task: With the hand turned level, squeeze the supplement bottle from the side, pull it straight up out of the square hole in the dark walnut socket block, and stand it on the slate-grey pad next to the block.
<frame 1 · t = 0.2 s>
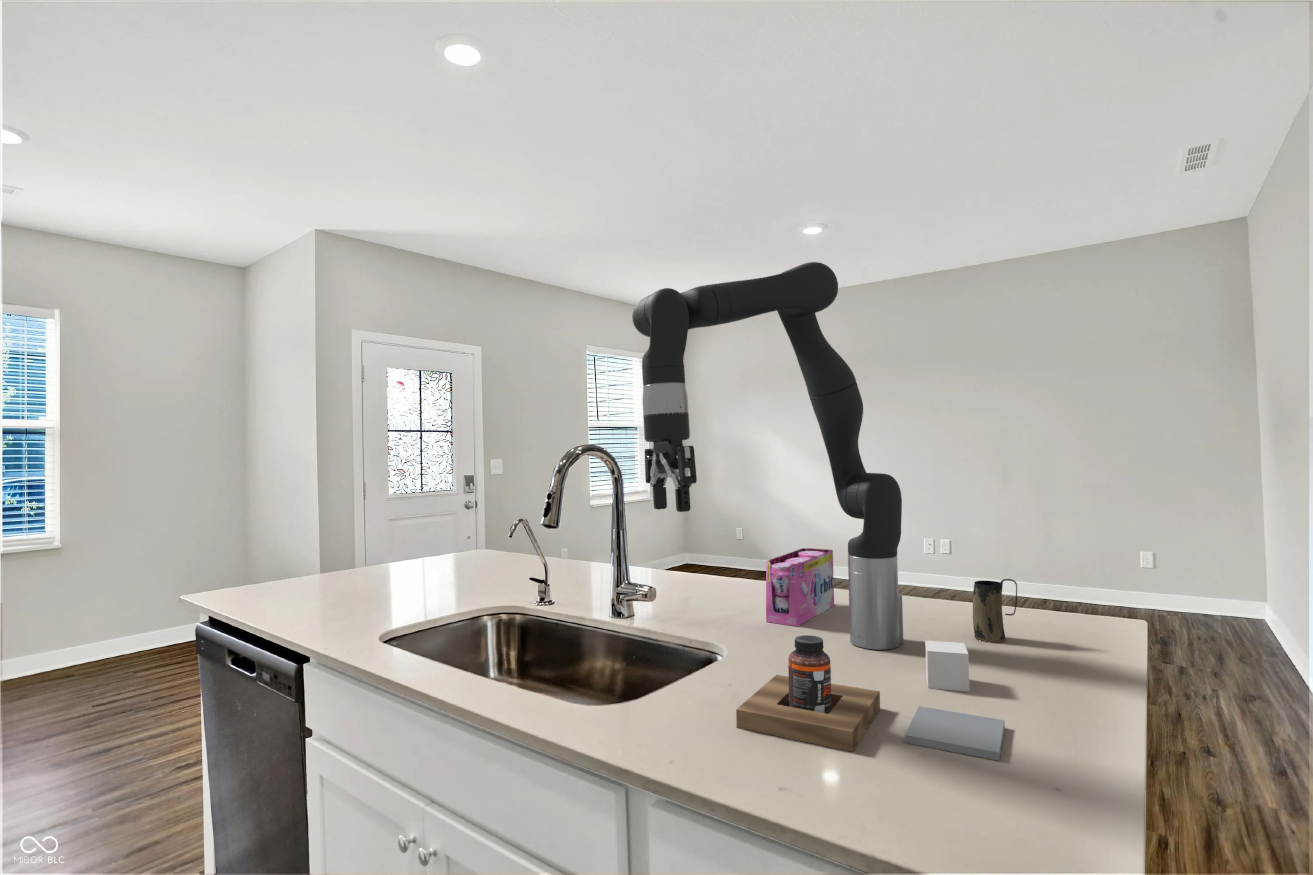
hand: (671, 510, 111), 29 cm above the worktop, tool pointing down, fingers open, 8 cm apart
gum box: (801, 614, 156), on the worktop
white cube: (947, 685, 109), on the worktop
supplement bottle: (810, 718, 97), resting in socket block
socket block: (810, 717, 97), on the worktop
mug: (995, 640, 132), on the worktop
slate pad: (955, 734, 90), on the worktop
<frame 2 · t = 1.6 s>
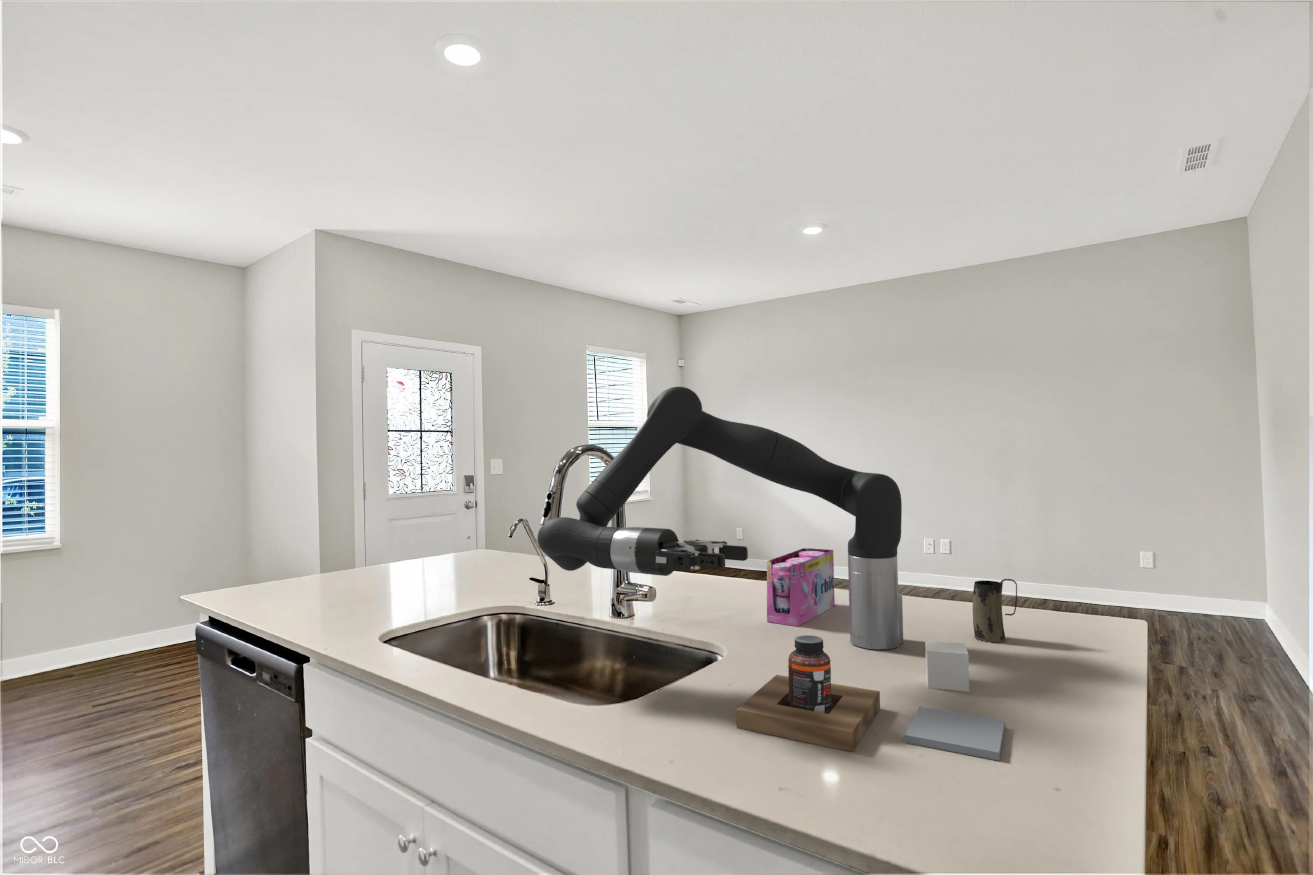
hand: (736, 557, 102), 22 cm above the worktop, tool horizontal, fingers open, 8 cm apart
nothing on the worktop moved.
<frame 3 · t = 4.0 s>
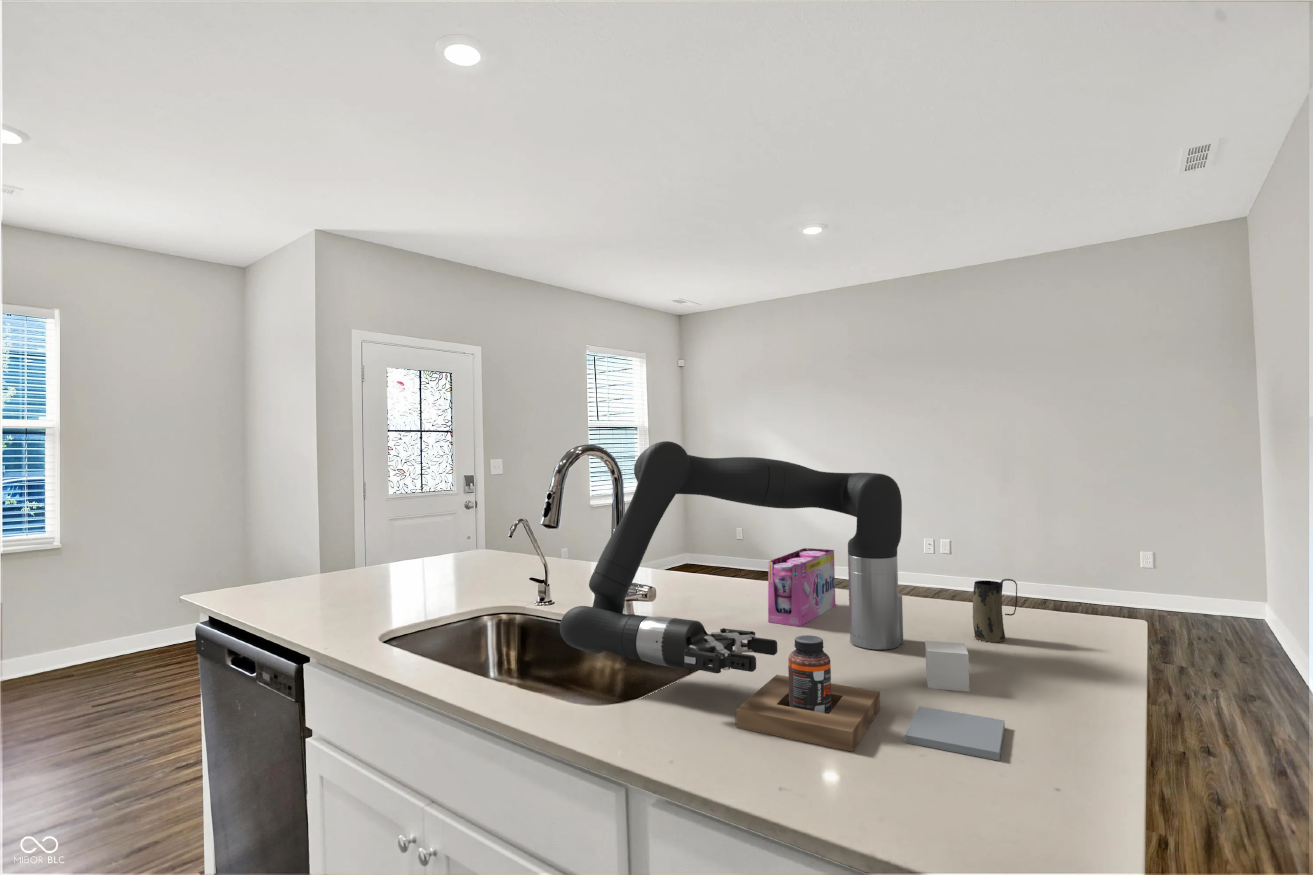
hand: (766, 655, 100), 8 cm above the worktop, tool horizontal, fingers open, 8 cm apart
nothing on the worktop moved.
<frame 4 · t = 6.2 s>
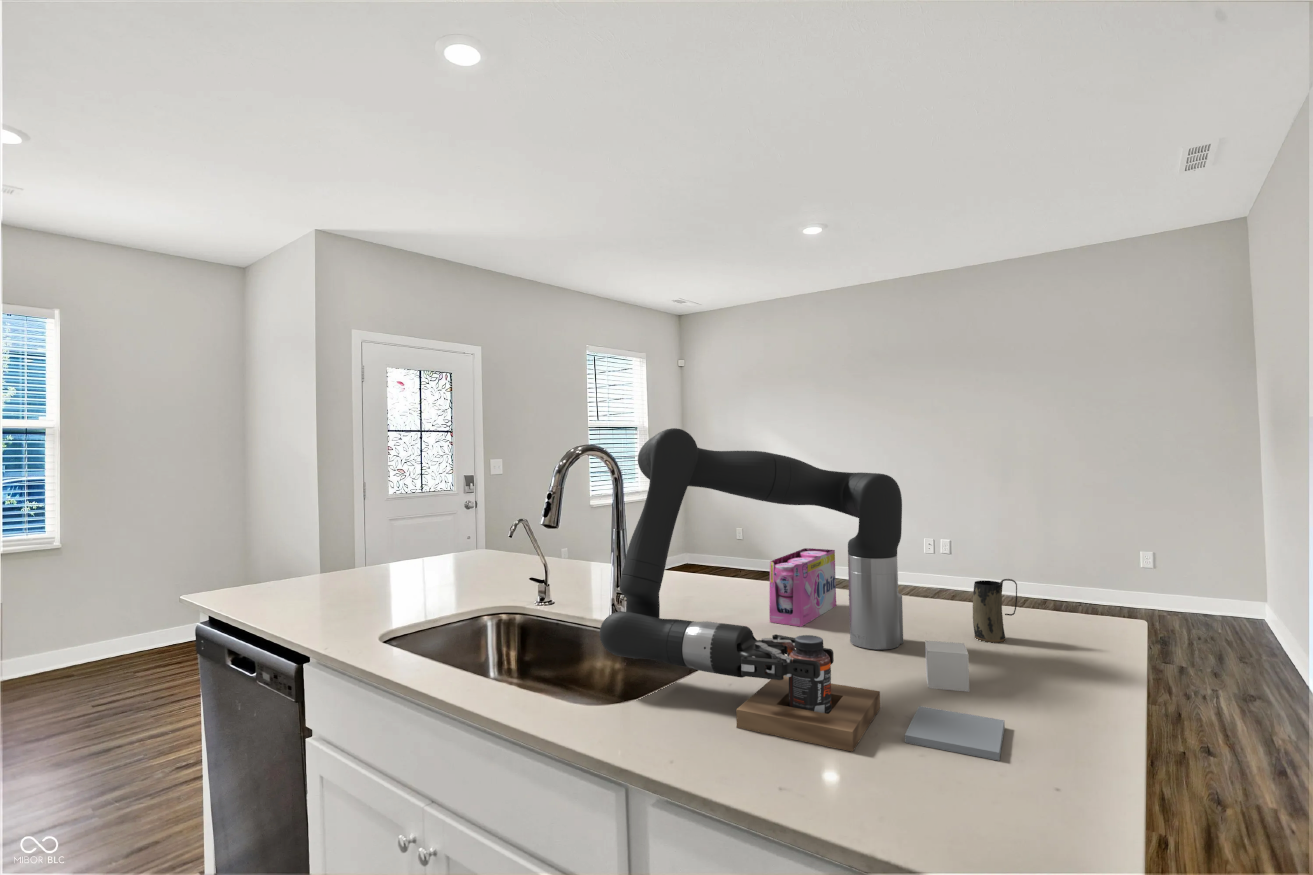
hand: (825, 663, 96), 8 cm above the worktop, tool horizontal, fingers closed on supplement bottle, 6 cm apart
supplement bottle: (810, 718, 97), resting in socket block, touching gripper
everything else where it was.
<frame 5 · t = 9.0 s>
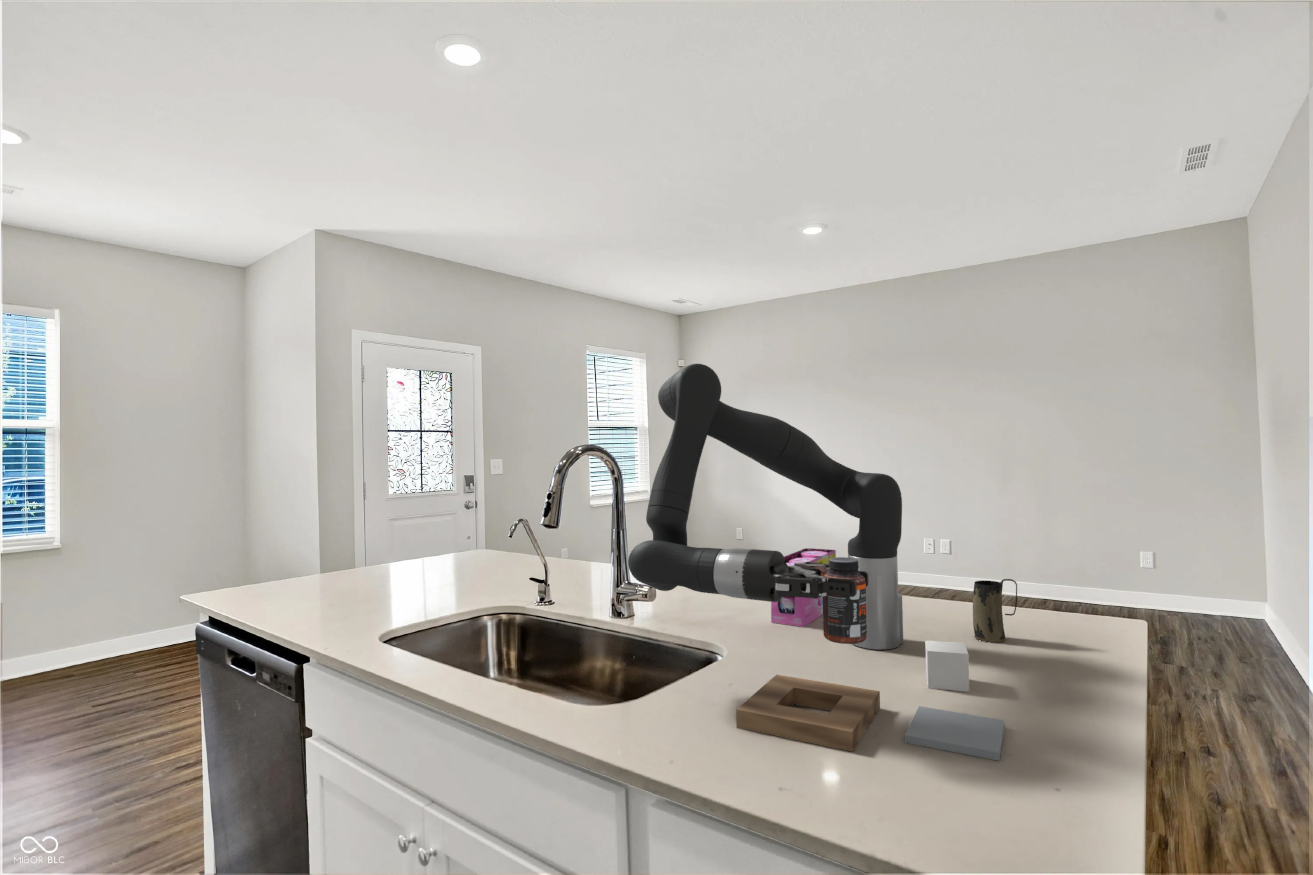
hand: (861, 583, 94), 20 cm above the worktop, tool horizontal, fingers closed on supplement bottle, 6 cm apart
supplement bottle: (845, 640, 95), point 11 cm above the worktop, touching gripper
everything else where it was.
when the fingers open (10 cm above the worktop, at t = 12.2 s): supplement bottle drops 1 cm, resting on slate pad.
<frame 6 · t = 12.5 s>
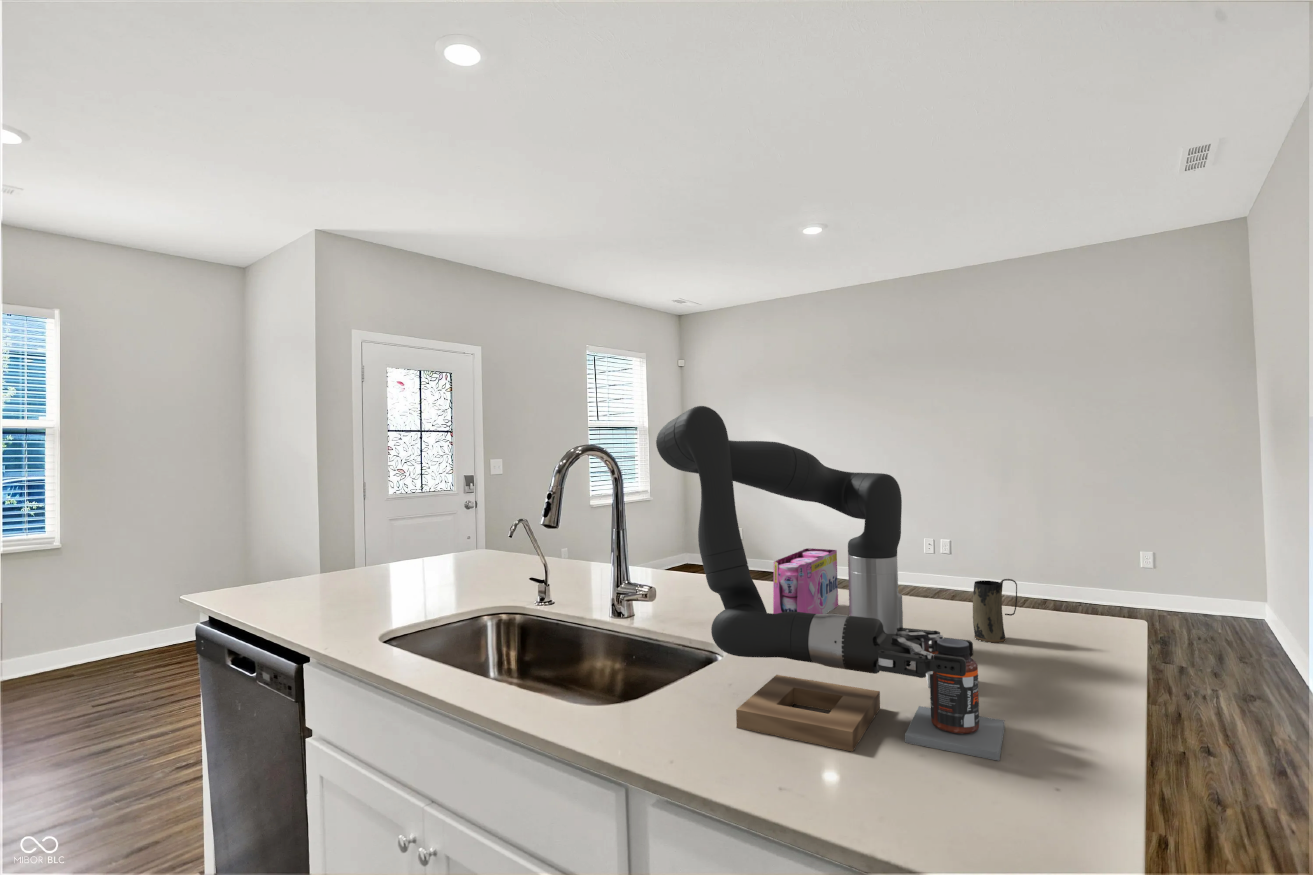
hand: (969, 657, 89), 10 cm above the worktop, tool horizontal, fingers open, 8 cm apart
supplement bottle: (955, 728, 90), point 1 cm above the worktop, touching slate pad
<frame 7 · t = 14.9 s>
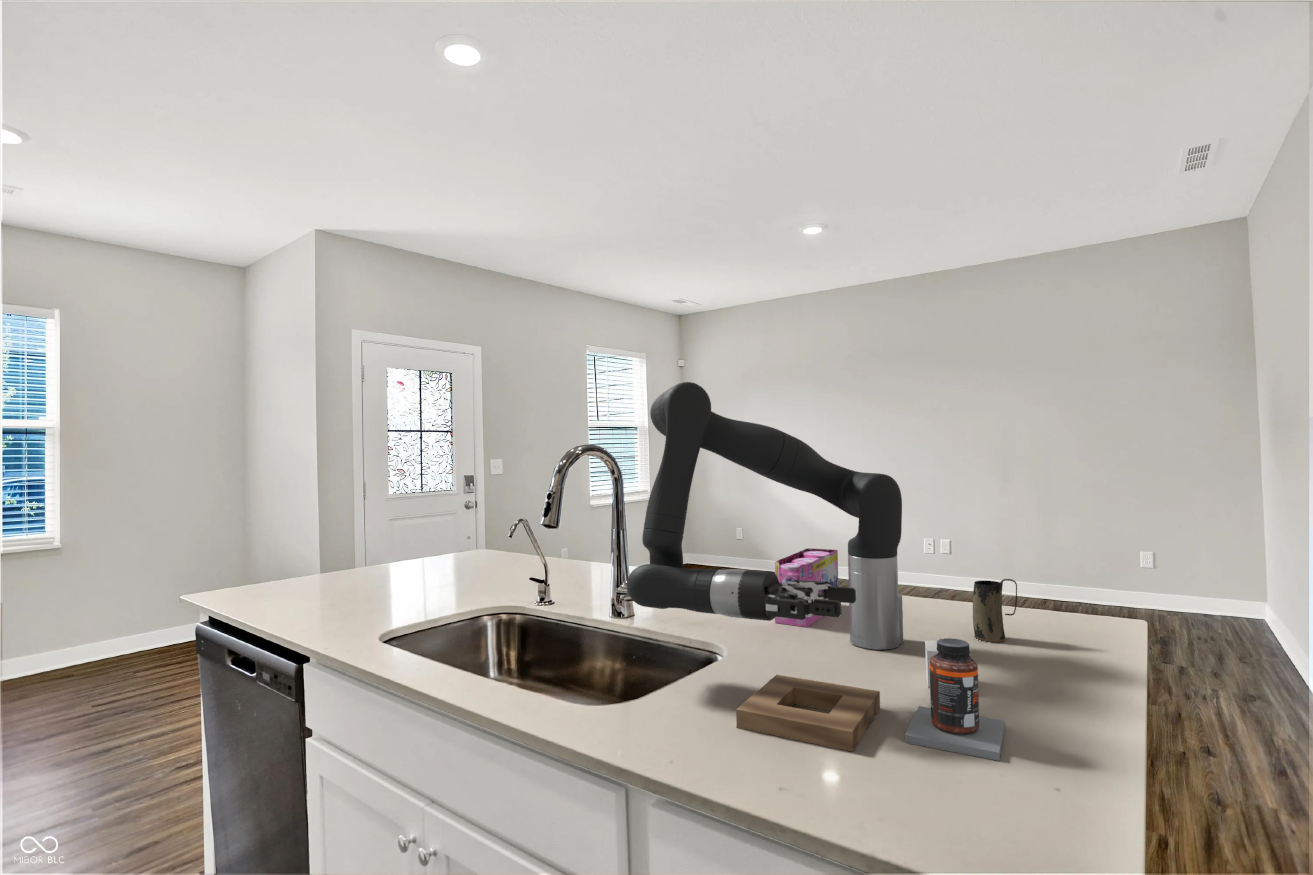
hand: (848, 602, 98), 16 cm above the worktop, tool horizontal, fingers open, 8 cm apart
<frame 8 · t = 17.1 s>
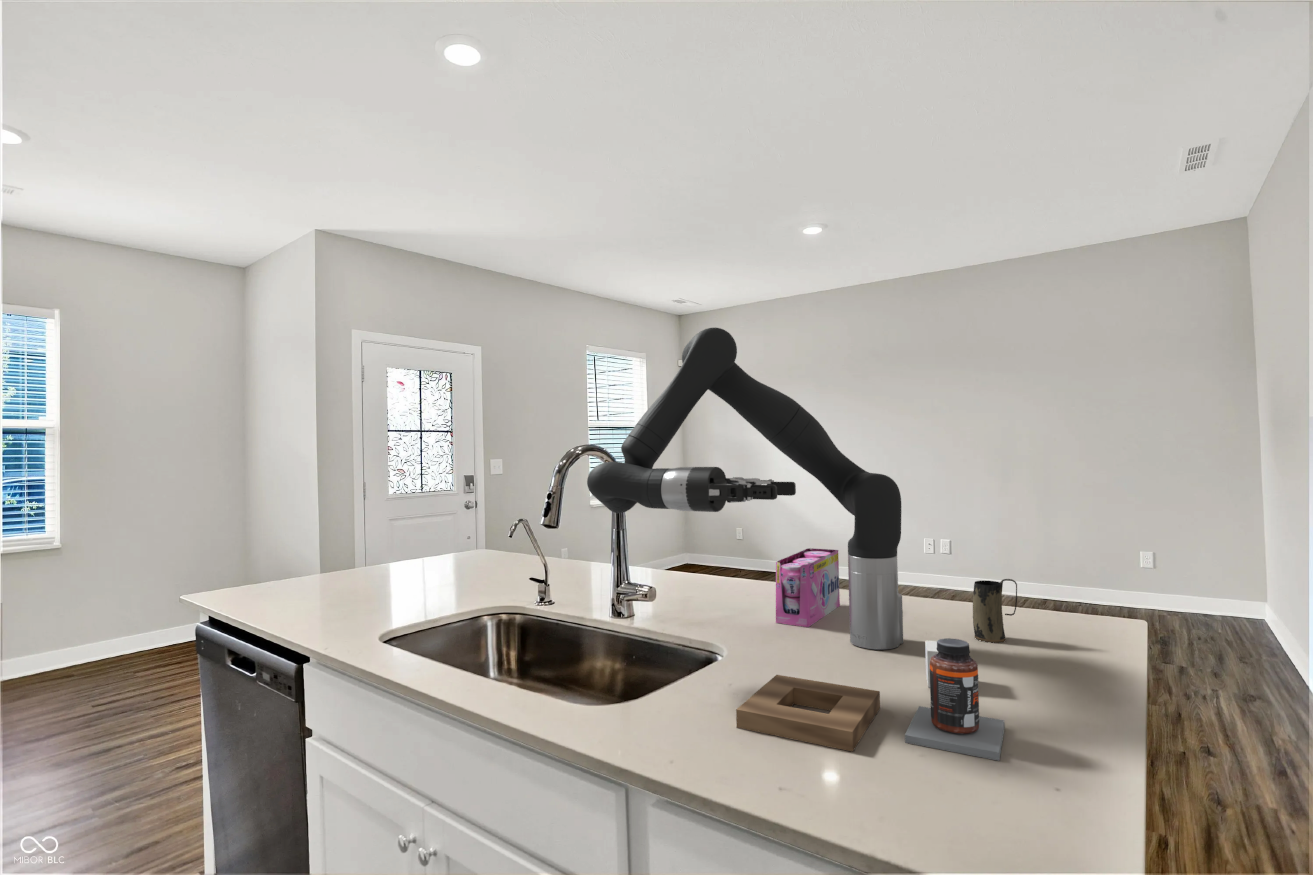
hand: (786, 490, 106), 32 cm above the worktop, tool horizontal, fingers open, 8 cm apart
at the end: supplement bottle inside the target area on the slate pad (0.2 cm from its centre), point 0.8 cm above the slate pad's base; supplement bottle tilted 0°; the gripper is holding nothing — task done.
